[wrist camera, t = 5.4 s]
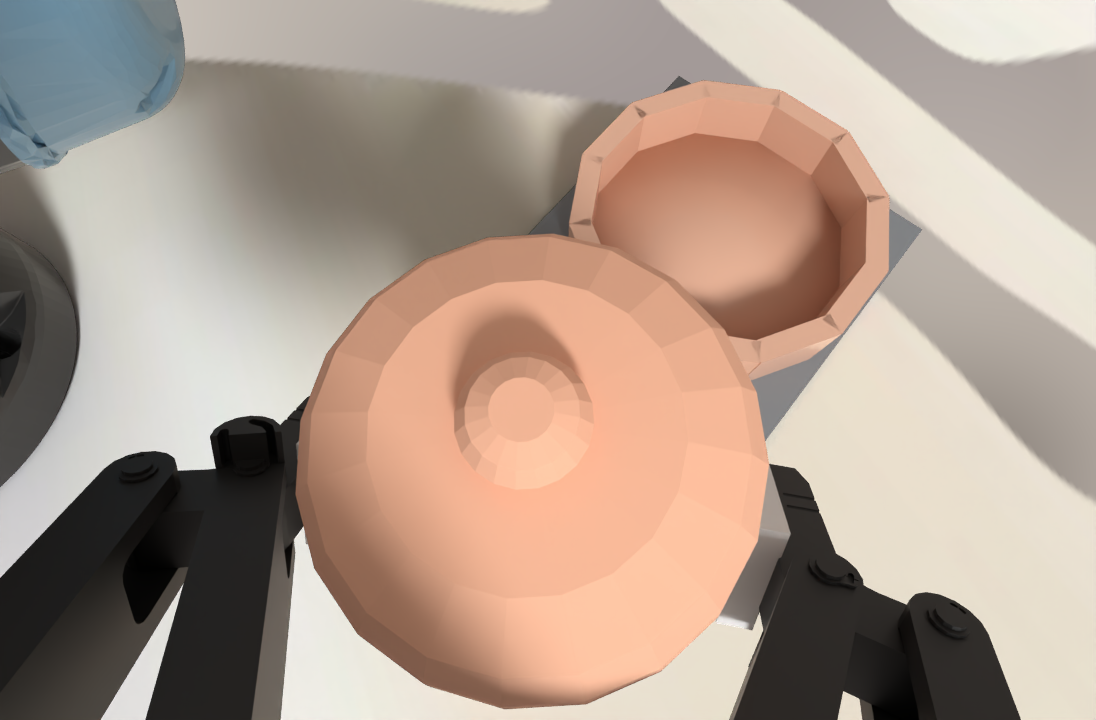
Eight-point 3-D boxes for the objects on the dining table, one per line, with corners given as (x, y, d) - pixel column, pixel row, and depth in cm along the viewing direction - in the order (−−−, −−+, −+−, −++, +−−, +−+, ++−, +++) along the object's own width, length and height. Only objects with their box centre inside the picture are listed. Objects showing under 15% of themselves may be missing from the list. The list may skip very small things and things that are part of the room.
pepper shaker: (613, 411, 26) (737, 83, 8) (659, 585, 24) (977, 695, 6) (448, 447, 26) (178, 193, 8) (479, 627, 24) (200, 889, 5)
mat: (499, 269, 28) (498, 265, 28) (677, 81, 31) (678, 76, 31) (748, 461, 25) (750, 460, 25) (917, 234, 28) (922, 229, 28)
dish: (515, 264, 28) (509, 228, 25) (681, 88, 31) (694, 37, 28) (747, 441, 25) (773, 426, 22) (905, 231, 28) (947, 191, 25)
